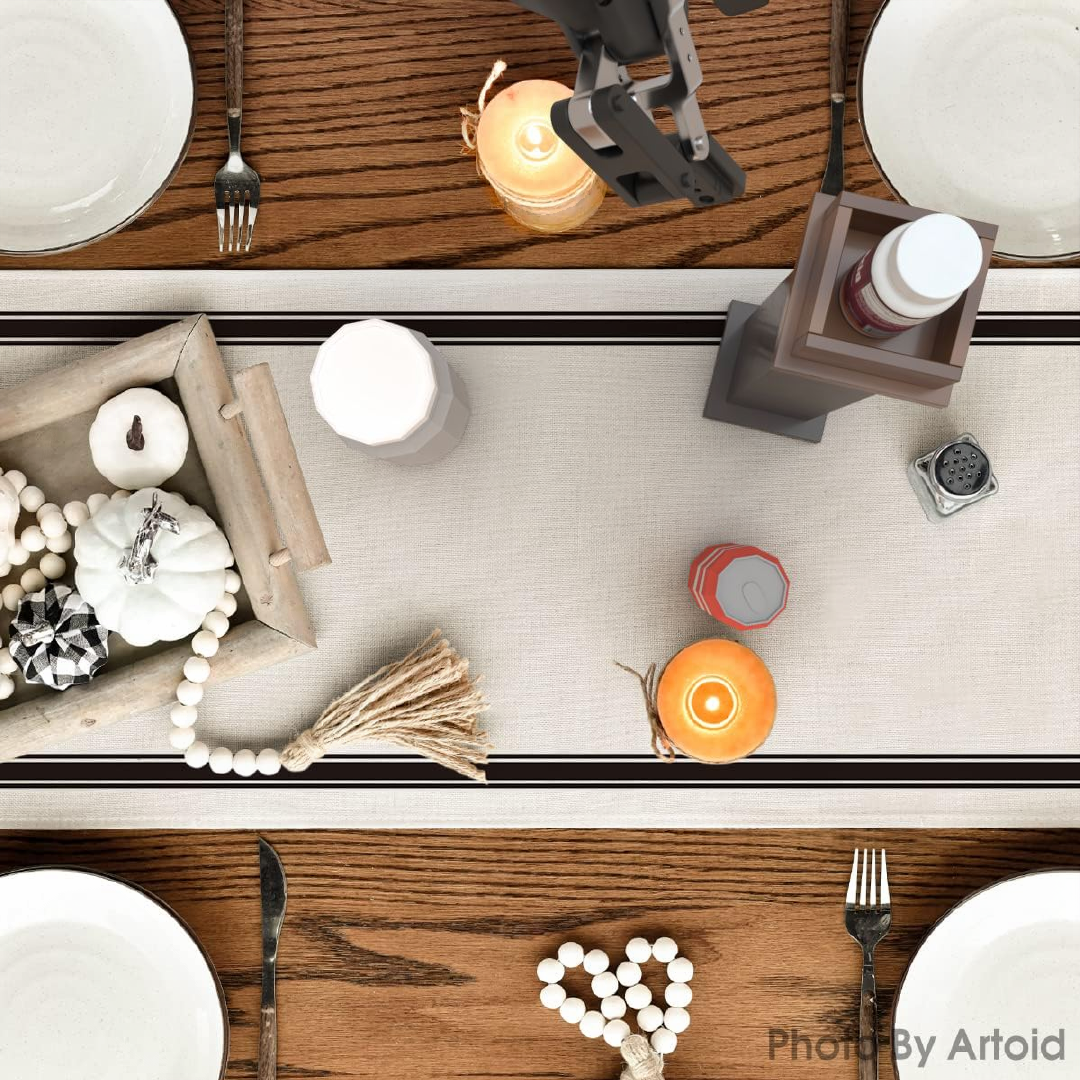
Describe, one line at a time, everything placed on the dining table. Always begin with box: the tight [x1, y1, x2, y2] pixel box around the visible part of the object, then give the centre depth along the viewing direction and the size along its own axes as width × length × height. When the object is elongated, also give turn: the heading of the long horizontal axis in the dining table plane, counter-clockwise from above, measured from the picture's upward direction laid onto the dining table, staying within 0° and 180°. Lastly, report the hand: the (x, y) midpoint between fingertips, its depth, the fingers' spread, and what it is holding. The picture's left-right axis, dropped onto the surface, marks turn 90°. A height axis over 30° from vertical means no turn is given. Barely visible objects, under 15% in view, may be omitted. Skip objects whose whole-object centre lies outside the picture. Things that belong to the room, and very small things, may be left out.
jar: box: [309, 317, 472, 468], centre depth 71 cm, size 10×10×18 cm
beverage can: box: [687, 542, 791, 632], centre depth 73 cm, size 6×6×12 cm
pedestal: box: [701, 270, 877, 445], centre depth 66 cm, size 10×10×26 cm
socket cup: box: [770, 189, 1000, 410], centre depth 51 cm, size 10×10×4 cm
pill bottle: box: [839, 212, 982, 338], centre depth 48 cm, size 5×5×8 cm
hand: (738, 96), depth 39 cm, fingers open, 8 cm apart
